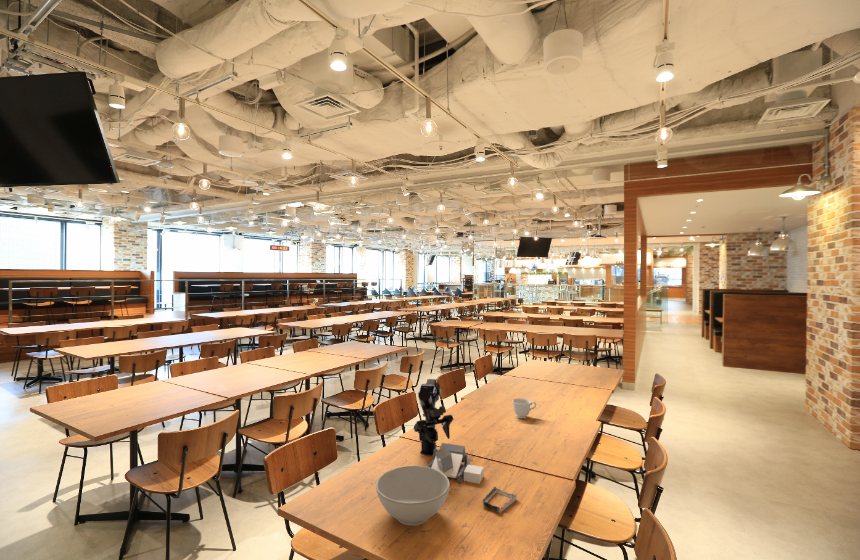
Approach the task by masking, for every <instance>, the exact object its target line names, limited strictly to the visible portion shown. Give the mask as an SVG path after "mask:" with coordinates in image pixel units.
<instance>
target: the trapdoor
mask: <svg viewBox="0 0 860 560" xmlns="http://www.w3.org/2000/svg"><path fill="white" fill-rule="evenodd" d="M444 447H446V448H447V449H448V451H449V452H450V453H451V456H452V462H453V468H451V469H450V470H448V471H446V472H445V473H443V472H442V470H441V469H440V468H439V466H438V464H437V458H436V457H435V459H434V462H433V465H432V467H431V468H433V469H436V470H438V471H440V472H442V473H443V474H444V475H446V477H447V478H452V479H457V475H458V474H459V472H460V469H461V468H460V467H461V465H462V463H464V455H465V454H467V453H466V447H465V445H461V444H460V445H459V444H453V443H452V444H451V443H446V442H441V445H440V447H439V449H437V451H438V450H440V449H442V448H444Z"/></svg>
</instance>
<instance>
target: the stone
mask: <svg viewBox="0 0 860 560" xmlns="http://www.w3.org/2000/svg"><path fill="white" fill-rule="evenodd" d="M437 450H438V451H436V458H437V464H438V466H439V468H440V469H441V470H442V472H443V473H445V472H446V471H448V470H450V469H451V468H453V462H452V456H451V453H450V452H449V451H448V449H447V448H446V447H444V448H442V449H440V448H439V449H437Z"/></svg>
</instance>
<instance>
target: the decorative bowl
mask: <svg viewBox="0 0 860 560" xmlns="http://www.w3.org/2000/svg"><path fill="white" fill-rule="evenodd" d="M450 487H451V485H450V480H449V477H446V475H444V474H443V473H442V472H440V471H438V470H436V469H433V468H430V467H427V466H423V465H405V466H399V467H395V468H393V469H390V470H387V471H386V472H384V473H382V474H381V475H380V476H379V477H378V479H377V481H376V483H375V490H376V493H377V496H378V499H379V502H380V503H381V505H382V507H383V508H384V509H385V510H386V512H387V513H388V514H389V515H390V516H392V517H393V518H394V519H396V521H397V522H399V523H400V524H402V525H405V526H408V527H410V526H411V527H416V526H420V525H423V524H426V522H428V520H429V519H430V518H432V517H434V516H435V515H436V513H437V512H439V510H440V509H441V508H442V506H443V505H444V503H445V501H446V500H447V496H448V494H449V491H450Z"/></svg>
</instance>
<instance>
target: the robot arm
mask: <svg viewBox="0 0 860 560" xmlns="http://www.w3.org/2000/svg"><path fill="white" fill-rule="evenodd" d="M441 389H442V388H441V384H440V383H439V382H438V381H437V379H435V378H427V380H426V383H422V384H420V386H419V389H418V392H417V395H418V400H419V404H420V407H421V409H422V412H423V413H422V417H423V418H425V419H421V420H417V421H416V422H415V424H414V425H413V430H414V432H415V433H418V439H419V442H421V446H420V448H421V451H420V452H419V454H423V455H428V456H433V450H434V449H437V442H438V441H439V433H438V430H437V428H436V426H437V425H440V424H441V427H442V431H443V432H444V434H445V436H446V437H447V439H448V440H450V438H451V437H450V426H451V424H452V422H453V421H454V419H455V418H454V417H453V415H452V414H446V415H445V413H446V412H447V409H446V407H445V405H440V406H439V407H438V408H437V407H436V404H437V402H438V401H439V400H440V396H441V392H442V390H441ZM441 416H443V417H442V418H441ZM440 418H441V419H440Z"/></svg>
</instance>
